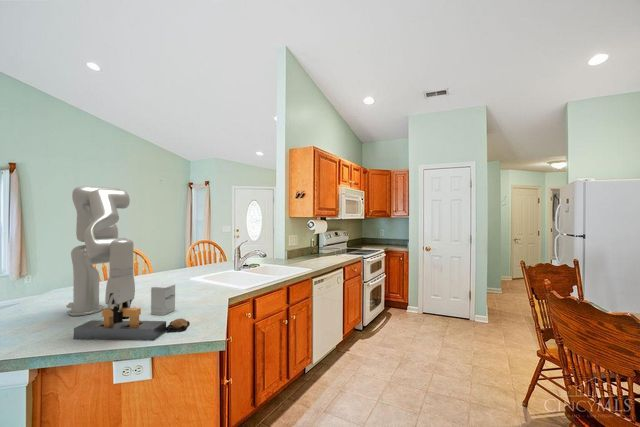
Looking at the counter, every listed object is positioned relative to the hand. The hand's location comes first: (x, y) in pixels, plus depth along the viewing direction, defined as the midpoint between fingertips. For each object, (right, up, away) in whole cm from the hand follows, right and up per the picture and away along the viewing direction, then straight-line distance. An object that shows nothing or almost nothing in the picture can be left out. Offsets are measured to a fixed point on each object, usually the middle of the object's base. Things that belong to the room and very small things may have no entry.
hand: (121, 320), depth 109 cm
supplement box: (+2, -6, +26) cm, 27 cm away
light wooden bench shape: (0, -4, 0) cm, 4 cm away
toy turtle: (+18, -6, +8) cm, 20 cm away
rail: (0, -6, 0) cm, 6 cm away
